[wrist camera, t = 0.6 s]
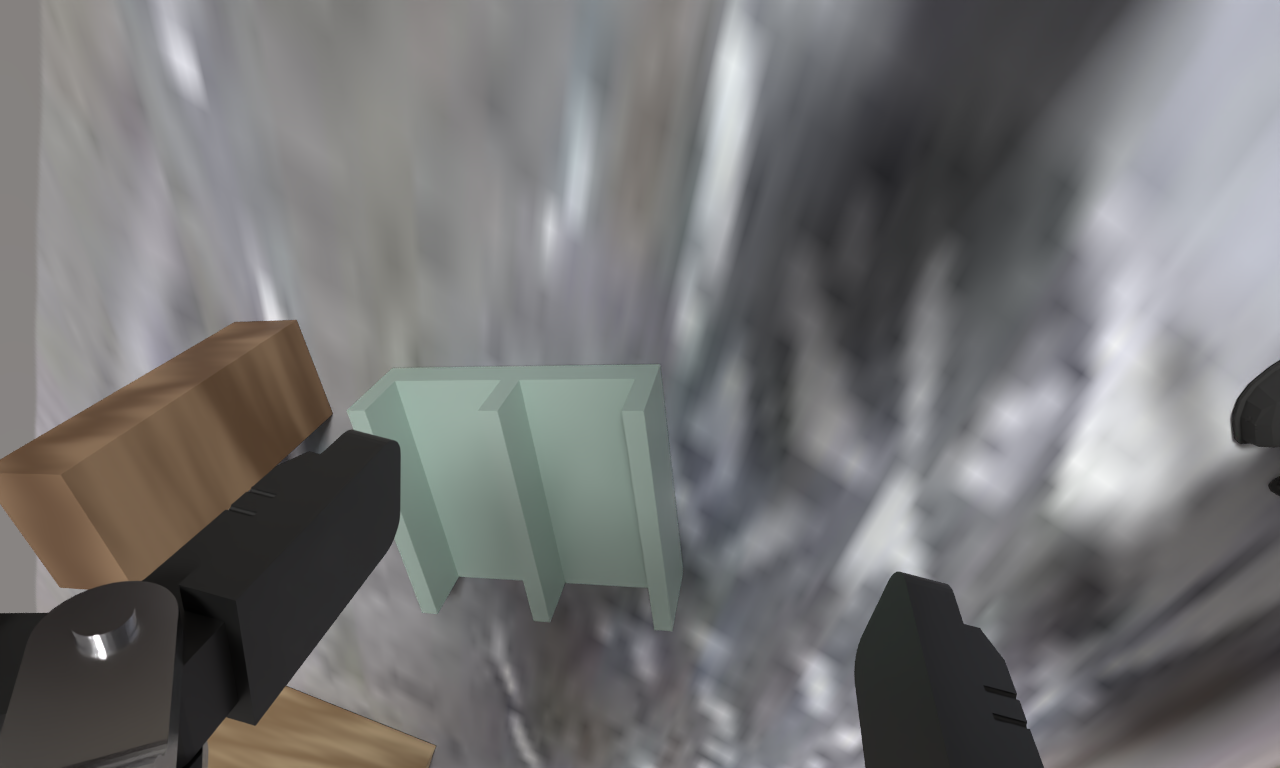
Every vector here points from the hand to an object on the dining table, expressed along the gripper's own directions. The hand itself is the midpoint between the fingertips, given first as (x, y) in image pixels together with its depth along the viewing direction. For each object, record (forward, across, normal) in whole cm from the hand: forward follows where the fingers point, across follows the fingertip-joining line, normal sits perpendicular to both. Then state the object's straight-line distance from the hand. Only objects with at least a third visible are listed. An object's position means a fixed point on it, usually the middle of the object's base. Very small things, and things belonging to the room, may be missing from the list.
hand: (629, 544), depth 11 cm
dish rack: (+22, +7, +16) cm, 29 cm away
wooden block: (+22, +22, +14) cm, 35 cm away
